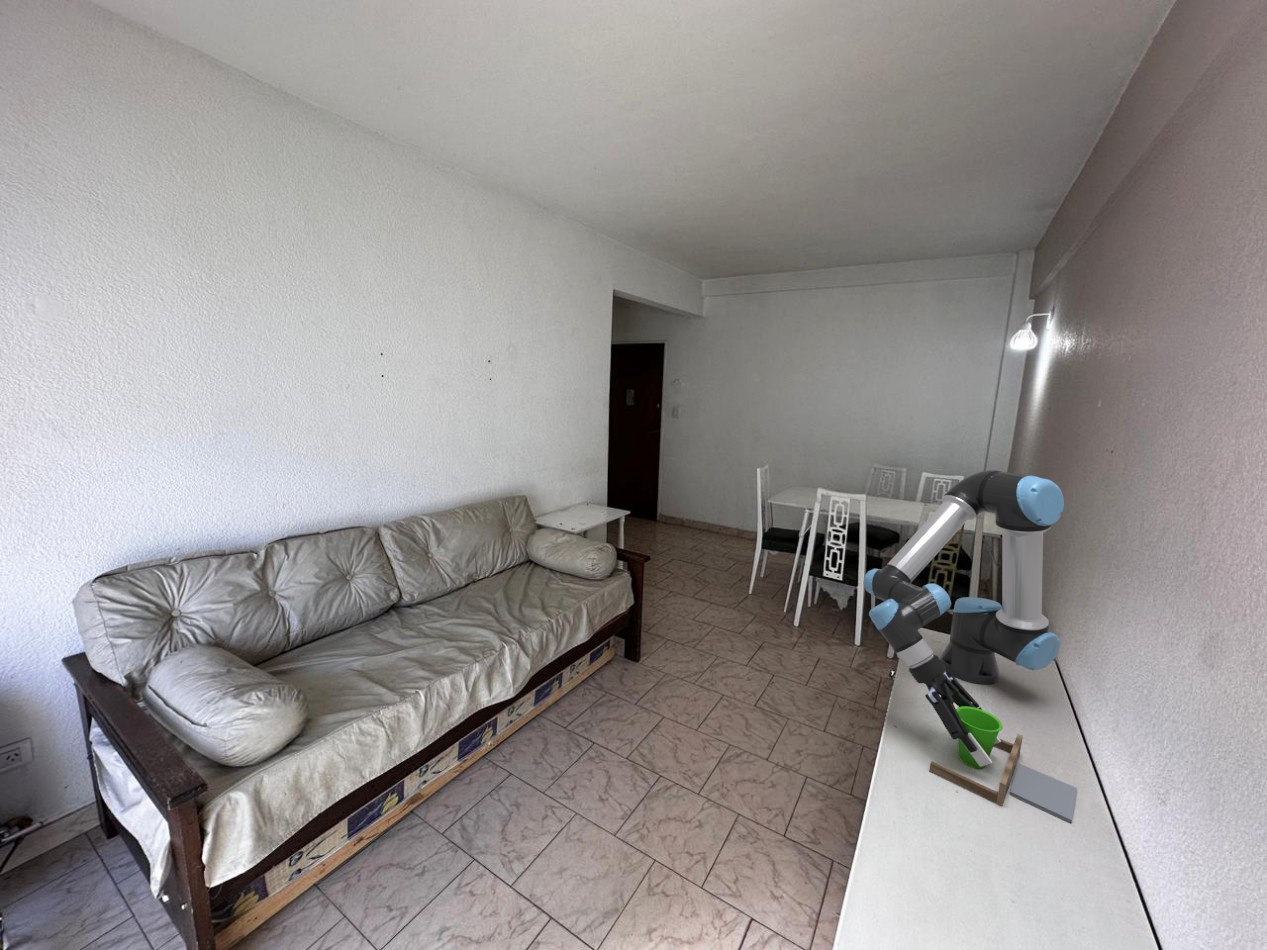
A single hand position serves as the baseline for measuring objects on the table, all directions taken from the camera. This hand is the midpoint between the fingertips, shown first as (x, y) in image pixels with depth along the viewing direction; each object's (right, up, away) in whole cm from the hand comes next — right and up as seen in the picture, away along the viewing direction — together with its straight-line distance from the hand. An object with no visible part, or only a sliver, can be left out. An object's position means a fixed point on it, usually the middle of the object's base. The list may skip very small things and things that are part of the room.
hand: (990, 753), depth 113 cm
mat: (+7, -5, -6) cm, 11 cm away
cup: (-2, -4, +3) cm, 5 cm away
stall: (-2, -3, +3) cm, 5 cm away
